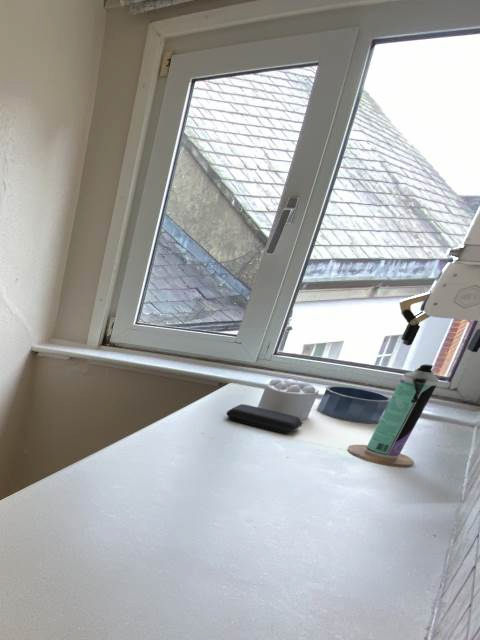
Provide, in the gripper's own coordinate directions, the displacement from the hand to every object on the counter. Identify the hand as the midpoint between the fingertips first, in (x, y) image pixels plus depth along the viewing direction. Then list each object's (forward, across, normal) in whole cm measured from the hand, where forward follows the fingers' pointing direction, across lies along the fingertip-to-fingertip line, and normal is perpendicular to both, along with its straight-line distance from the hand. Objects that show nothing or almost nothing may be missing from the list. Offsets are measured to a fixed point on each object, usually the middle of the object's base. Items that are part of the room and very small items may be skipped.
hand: (438, 347), depth 110 cm
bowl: (+24, -1, +34) cm, 42 cm away
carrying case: (+24, -22, +9) cm, 34 cm away
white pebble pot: (+24, -17, +22) cm, 37 cm away
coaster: (+24, -1, 0) cm, 24 cm away
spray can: (+24, -1, 0) cm, 24 cm away
